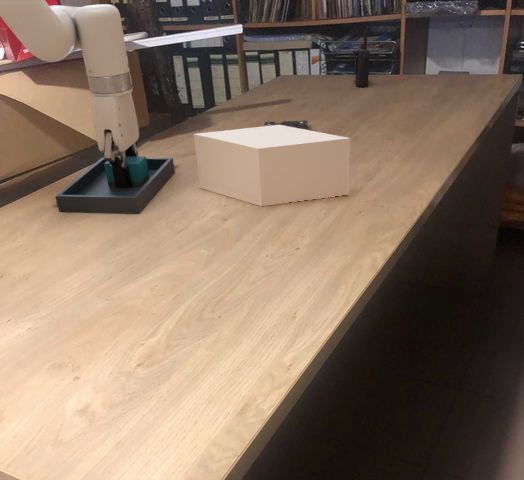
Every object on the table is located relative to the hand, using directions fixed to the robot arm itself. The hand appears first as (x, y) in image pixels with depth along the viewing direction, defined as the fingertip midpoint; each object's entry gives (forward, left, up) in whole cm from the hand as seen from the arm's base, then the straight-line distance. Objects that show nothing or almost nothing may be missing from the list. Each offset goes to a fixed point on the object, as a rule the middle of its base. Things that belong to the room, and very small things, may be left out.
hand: (128, 181), depth 118 cm
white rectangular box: (+29, -1, -1) cm, 29 cm away
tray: (-1, -2, -1) cm, 3 cm away
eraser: (0, 0, 0) cm, 0 cm away
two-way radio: (+41, +85, -1) cm, 94 cm away
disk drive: (+27, +30, -1) cm, 40 cm away
